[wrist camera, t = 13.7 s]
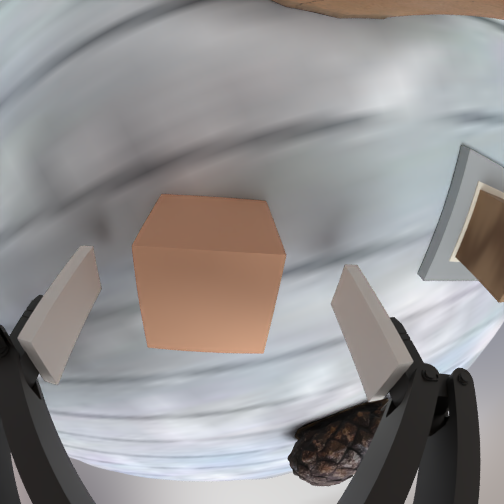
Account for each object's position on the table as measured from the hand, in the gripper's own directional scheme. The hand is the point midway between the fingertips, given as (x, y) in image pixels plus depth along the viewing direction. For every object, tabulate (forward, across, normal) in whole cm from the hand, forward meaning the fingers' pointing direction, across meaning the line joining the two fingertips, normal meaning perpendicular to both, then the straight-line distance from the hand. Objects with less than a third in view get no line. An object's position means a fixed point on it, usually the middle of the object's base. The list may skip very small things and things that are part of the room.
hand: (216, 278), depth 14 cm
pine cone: (+4, -19, +28) cm, 33 cm away
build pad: (+4, -22, -4) cm, 22 cm away
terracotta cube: (+4, 0, 0) cm, 4 cm away
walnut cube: (+3, -22, -4) cm, 22 cm away
